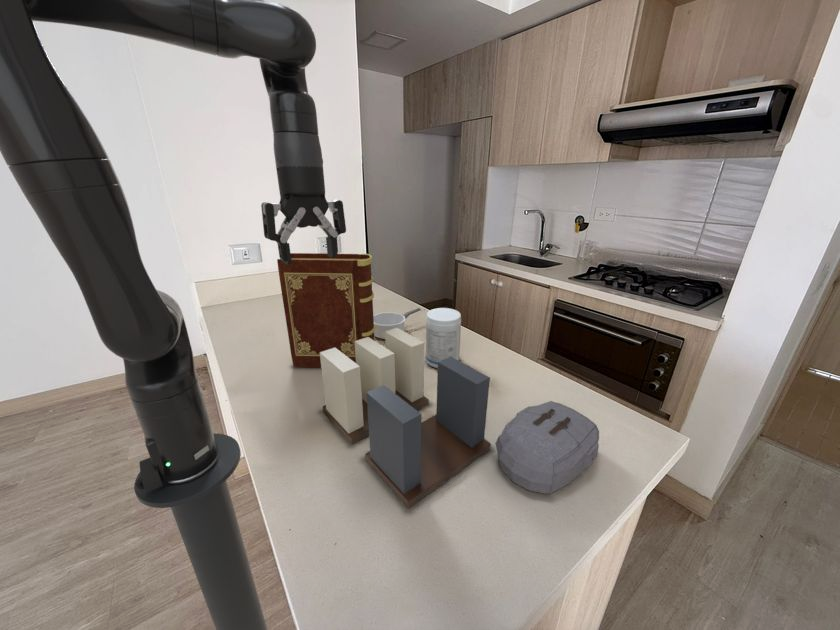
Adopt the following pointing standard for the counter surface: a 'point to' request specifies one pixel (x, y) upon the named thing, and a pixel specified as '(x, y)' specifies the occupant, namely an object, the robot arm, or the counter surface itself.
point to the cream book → (374, 366)
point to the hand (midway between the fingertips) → (310, 260)
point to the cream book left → (342, 389)
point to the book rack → (424, 452)
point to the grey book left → (395, 437)
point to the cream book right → (407, 363)
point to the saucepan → (390, 322)
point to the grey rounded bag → (547, 446)
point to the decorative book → (326, 304)
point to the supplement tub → (442, 335)
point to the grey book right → (462, 400)
